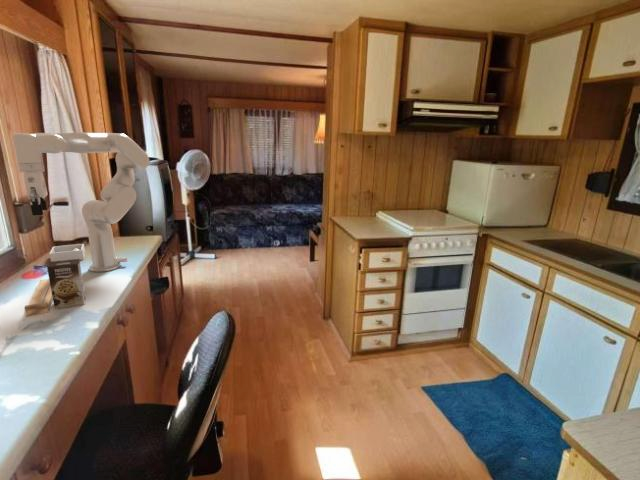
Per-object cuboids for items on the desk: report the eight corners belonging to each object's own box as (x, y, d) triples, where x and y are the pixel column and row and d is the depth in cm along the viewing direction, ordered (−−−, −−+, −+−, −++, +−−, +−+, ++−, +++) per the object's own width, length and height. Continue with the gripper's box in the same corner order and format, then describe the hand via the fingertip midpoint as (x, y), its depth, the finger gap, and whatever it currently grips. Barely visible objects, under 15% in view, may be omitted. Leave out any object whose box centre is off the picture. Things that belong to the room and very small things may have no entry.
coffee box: (54, 309, 126) (45, 267, 121) (57, 302, 131) (49, 261, 127) (84, 305, 130) (77, 263, 126) (86, 298, 136) (79, 258, 131)
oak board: (59, 282, 149) (57, 274, 148) (48, 313, 124) (46, 303, 123) (41, 284, 146) (39, 276, 145) (26, 316, 121) (24, 307, 120)
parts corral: (85, 252, 185) (83, 243, 184) (83, 259, 175) (82, 250, 174) (54, 256, 179) (53, 246, 178) (51, 263, 169) (49, 253, 168)
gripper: (40, 169, 128) (48, 216, 132) (47, 165, 142) (55, 207, 147) (13, 170, 124) (23, 217, 129) (23, 165, 138) (32, 209, 143)
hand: (40, 212), depth 138 cm, fingers open, 9 cm apart
